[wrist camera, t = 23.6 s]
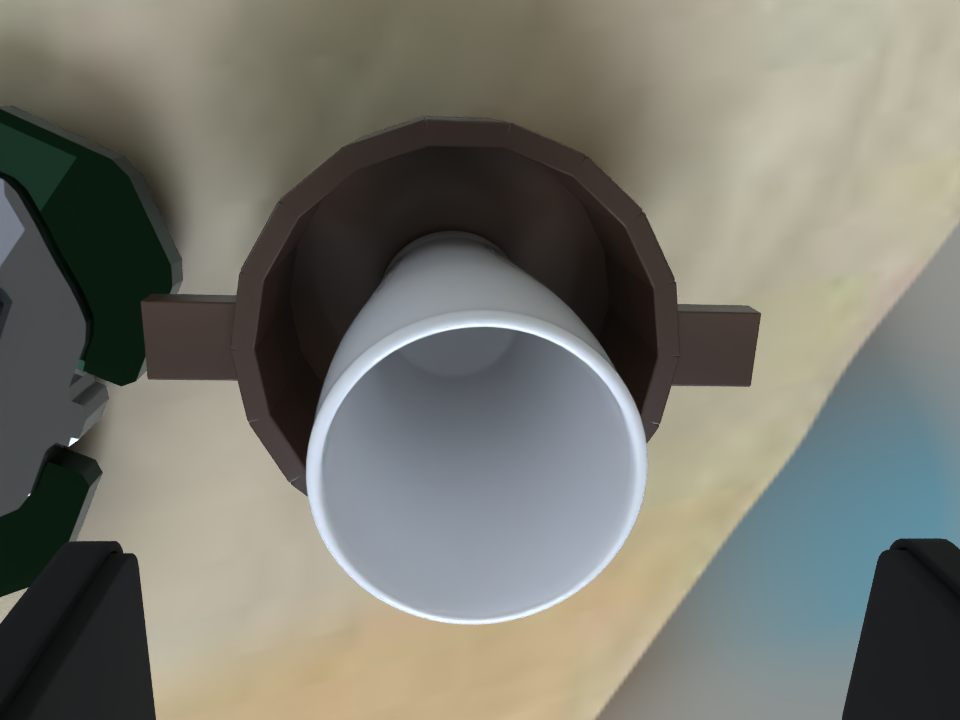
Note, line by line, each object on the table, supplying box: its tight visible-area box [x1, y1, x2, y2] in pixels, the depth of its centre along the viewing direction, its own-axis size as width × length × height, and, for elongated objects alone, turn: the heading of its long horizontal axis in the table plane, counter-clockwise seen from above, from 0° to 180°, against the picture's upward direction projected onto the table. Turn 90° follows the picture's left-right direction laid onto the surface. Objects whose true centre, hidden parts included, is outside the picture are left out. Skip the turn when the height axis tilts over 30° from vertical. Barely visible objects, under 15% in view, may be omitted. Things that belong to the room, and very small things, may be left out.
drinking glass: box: [306, 231, 648, 625], centre depth 22 cm, size 7×7×15 cm
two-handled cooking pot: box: [141, 116, 761, 496], centre depth 27 cm, size 13×18×7 cm
